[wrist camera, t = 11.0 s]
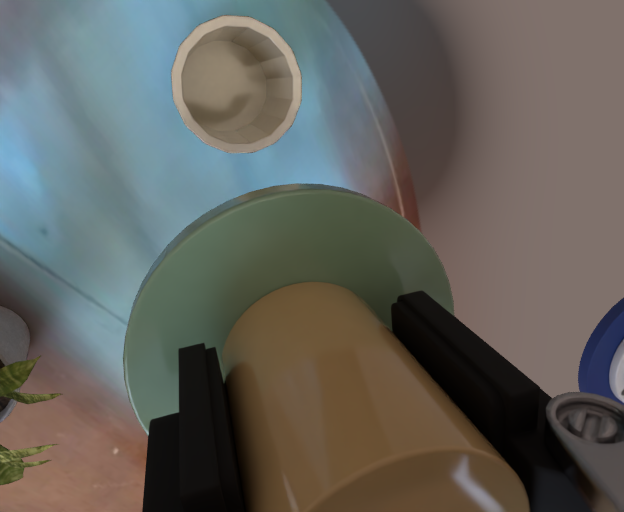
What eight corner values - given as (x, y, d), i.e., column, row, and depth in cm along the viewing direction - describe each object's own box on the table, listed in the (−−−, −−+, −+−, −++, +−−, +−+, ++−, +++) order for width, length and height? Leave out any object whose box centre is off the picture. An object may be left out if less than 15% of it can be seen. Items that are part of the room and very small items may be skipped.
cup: (286, 60, 32) (321, 52, 24) (251, 151, 34) (274, 171, 26) (192, 14, 30) (198, -11, 22) (159, 114, 31) (153, 124, 23)
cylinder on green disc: (476, 237, 13) (747, 372, 7) (360, 470, 15) (493, 746, 9) (190, 124, 10) (214, 185, 4) (88, 432, 12) (-6, 807, 6)
